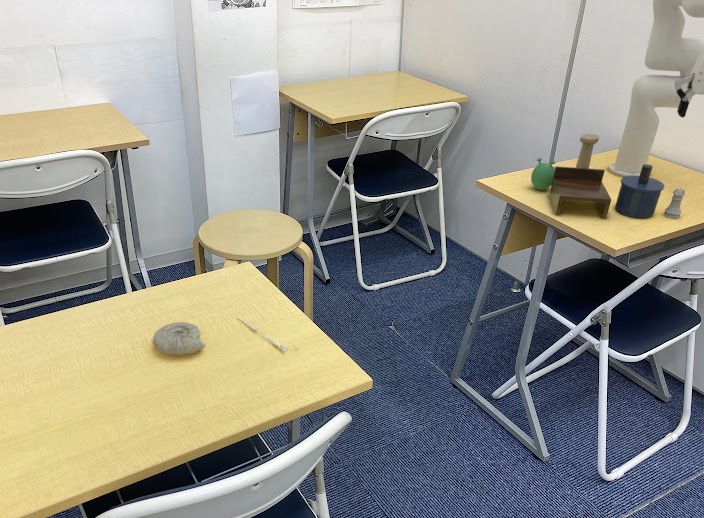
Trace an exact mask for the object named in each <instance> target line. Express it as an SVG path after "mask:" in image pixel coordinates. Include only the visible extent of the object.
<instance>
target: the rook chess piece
mask: <svg viewBox="0 0 704 518" xmlns="http://www.w3.org/2000/svg"><path fill="white" fill-rule="evenodd" d="M672 194H673V195H672V196H671V201H670V202H669V205H667V207H666V208H665V209H664V211H663V216H664V217H666V218H668V219H671V220H673V219H674V220H676V219H679V218H680V217H681V215H682V211H681V204H682V201H683V200H684V199H683V197H685V196H686V190H685V189H682V188H675V189H674V190H673V191H672Z"/></svg>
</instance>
